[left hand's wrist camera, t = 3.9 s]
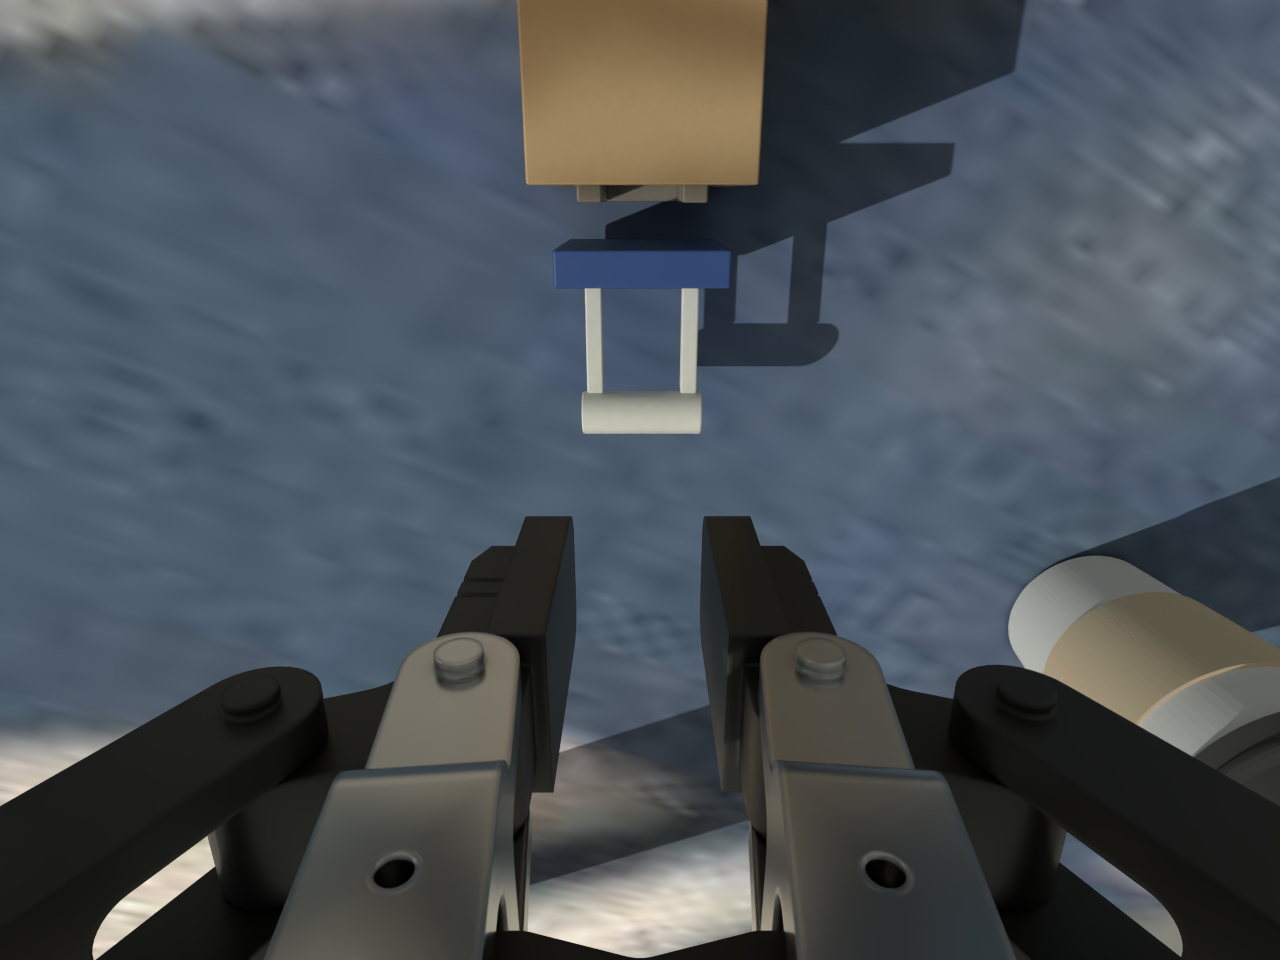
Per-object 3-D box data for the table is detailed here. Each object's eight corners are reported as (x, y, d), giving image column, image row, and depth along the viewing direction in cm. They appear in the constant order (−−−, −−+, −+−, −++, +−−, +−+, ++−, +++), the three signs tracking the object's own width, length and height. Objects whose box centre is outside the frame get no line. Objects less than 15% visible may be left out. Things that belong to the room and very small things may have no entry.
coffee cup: (1154, 697, 38) (1455, 992, 24) (972, 698, 38) (1167, 994, 24) (1199, 531, 35) (1577, 760, 21) (1001, 533, 35) (1245, 763, 21)
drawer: (709, 413, 32) (723, 460, 26) (574, 413, 32) (560, 459, 26) (731, -277, 24) (759, -419, 19) (552, -277, 24) (526, -419, 19)
